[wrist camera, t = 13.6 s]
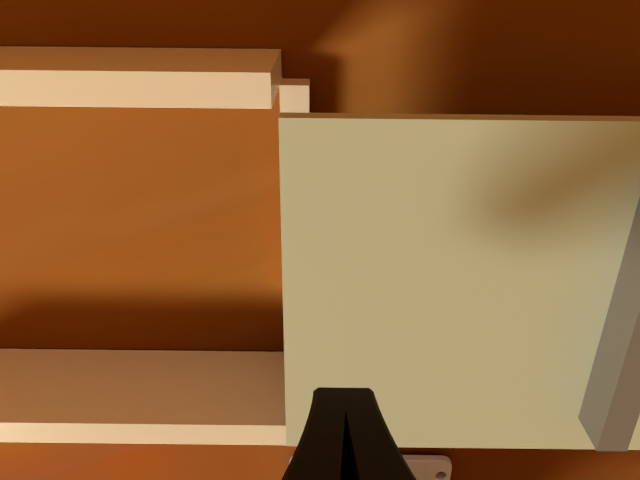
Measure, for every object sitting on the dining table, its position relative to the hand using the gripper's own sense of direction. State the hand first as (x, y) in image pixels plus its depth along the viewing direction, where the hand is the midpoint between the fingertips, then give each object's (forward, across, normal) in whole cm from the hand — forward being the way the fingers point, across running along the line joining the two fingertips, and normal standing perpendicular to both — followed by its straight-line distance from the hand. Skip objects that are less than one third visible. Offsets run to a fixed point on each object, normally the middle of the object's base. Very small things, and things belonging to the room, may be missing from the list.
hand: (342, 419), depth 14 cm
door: (+6, -6, 0) cm, 8 cm away
